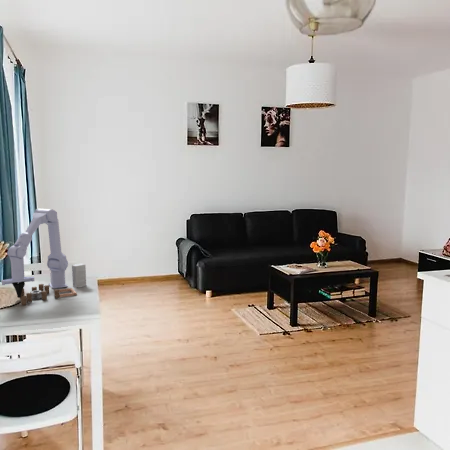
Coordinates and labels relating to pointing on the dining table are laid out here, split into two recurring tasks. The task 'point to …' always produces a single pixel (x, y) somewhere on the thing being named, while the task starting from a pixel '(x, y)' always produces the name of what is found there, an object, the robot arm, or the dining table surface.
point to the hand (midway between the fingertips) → (19, 297)
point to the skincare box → (79, 275)
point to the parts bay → (67, 293)
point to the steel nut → (36, 294)
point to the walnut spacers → (44, 294)
